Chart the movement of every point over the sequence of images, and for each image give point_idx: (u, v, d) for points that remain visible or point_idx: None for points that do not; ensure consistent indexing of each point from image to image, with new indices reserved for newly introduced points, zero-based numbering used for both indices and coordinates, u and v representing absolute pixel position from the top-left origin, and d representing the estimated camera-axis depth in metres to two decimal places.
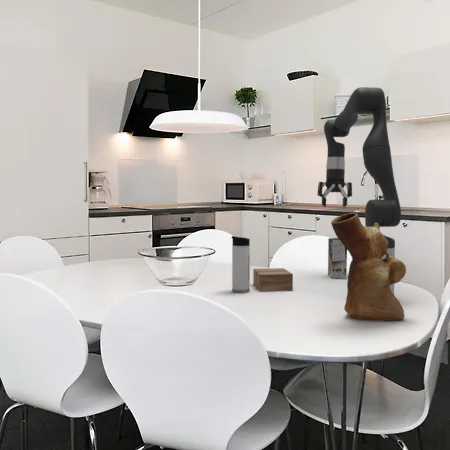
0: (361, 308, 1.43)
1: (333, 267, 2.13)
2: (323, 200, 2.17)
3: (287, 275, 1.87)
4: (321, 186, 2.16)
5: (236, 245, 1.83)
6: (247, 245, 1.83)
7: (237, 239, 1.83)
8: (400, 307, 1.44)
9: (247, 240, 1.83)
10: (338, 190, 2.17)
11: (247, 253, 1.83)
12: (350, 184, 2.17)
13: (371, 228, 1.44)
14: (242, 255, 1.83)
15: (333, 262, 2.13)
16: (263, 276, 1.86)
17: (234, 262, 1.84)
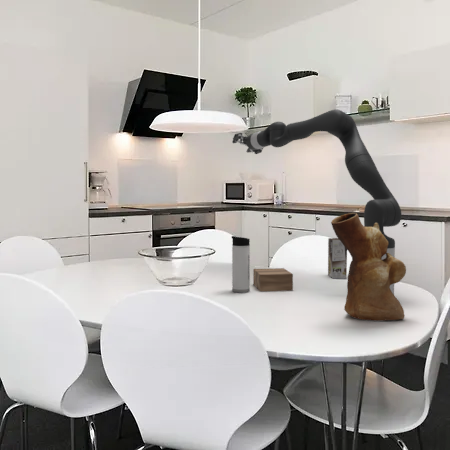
0: (361, 308, 1.43)
1: (333, 267, 2.13)
2: None
3: (287, 275, 1.87)
4: None
5: (236, 245, 1.83)
6: (247, 245, 1.83)
7: (237, 239, 1.83)
8: (400, 307, 1.44)
9: (247, 240, 1.83)
10: None
11: (247, 253, 1.83)
12: None
13: (371, 228, 1.44)
14: (242, 255, 1.83)
15: (333, 262, 2.13)
16: (263, 276, 1.86)
17: (234, 262, 1.84)
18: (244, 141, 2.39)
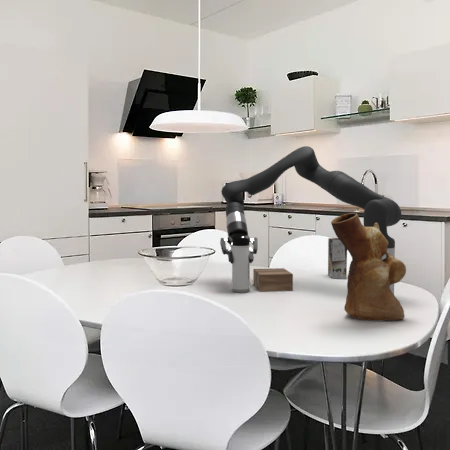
0: (361, 308, 1.43)
1: (333, 267, 2.13)
2: (229, 255, 1.85)
3: (287, 275, 1.87)
4: (223, 241, 1.88)
5: (236, 245, 1.83)
6: (247, 245, 1.83)
7: (237, 239, 1.82)
8: (400, 307, 1.44)
9: (247, 240, 1.83)
10: None
11: (247, 253, 1.83)
12: (255, 239, 1.90)
13: (371, 228, 1.44)
14: (242, 255, 1.83)
15: (333, 262, 2.13)
16: (263, 276, 1.86)
17: (234, 262, 1.84)
18: None
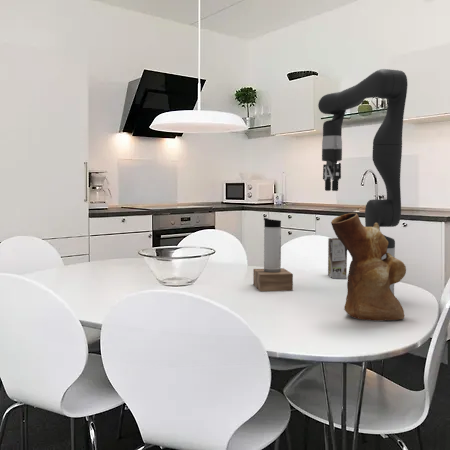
0: (361, 308, 1.43)
1: (333, 267, 2.13)
2: None
3: (287, 275, 1.87)
4: (323, 169, 2.05)
5: (268, 226, 1.90)
6: (279, 227, 1.91)
7: (269, 221, 1.90)
8: (400, 307, 1.44)
9: (279, 222, 1.91)
10: None
11: (279, 234, 1.91)
12: (334, 165, 1.92)
13: (371, 228, 1.44)
14: (274, 236, 1.90)
15: (333, 262, 2.13)
16: (263, 276, 1.86)
17: (266, 243, 1.91)
18: None
